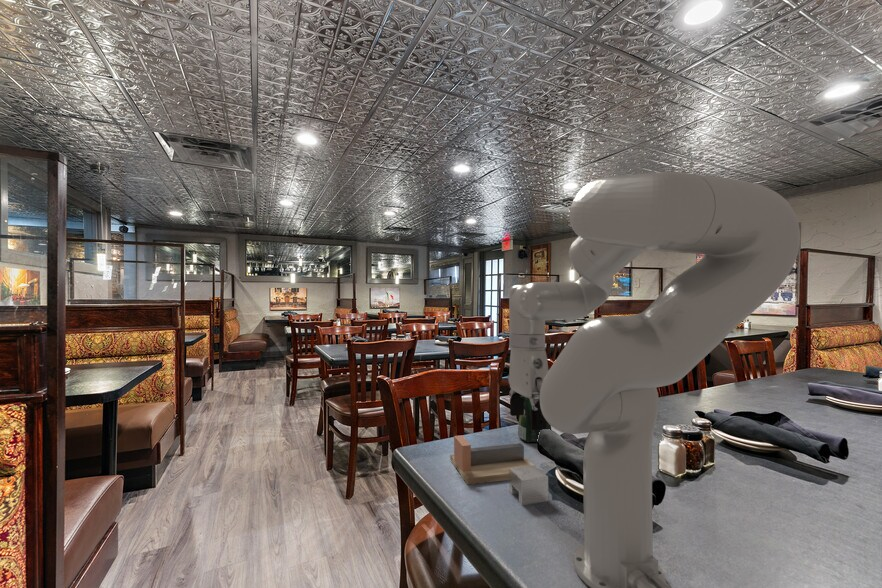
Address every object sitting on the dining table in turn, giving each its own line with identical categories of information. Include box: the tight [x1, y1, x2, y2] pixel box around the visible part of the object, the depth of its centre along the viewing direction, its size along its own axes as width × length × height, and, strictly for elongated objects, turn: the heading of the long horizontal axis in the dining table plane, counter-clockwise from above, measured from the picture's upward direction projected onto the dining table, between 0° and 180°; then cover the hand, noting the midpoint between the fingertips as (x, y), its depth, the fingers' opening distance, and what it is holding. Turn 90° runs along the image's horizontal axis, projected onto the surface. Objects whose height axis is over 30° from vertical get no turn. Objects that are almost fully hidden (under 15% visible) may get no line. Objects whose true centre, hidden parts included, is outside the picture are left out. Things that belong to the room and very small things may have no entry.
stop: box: [453, 435, 472, 472], centre depth 94 cm, size 7×2×6 cm, turn 14°
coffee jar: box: [517, 396, 552, 443], centre depth 117 cm, size 10×8×19 cm
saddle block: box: [508, 464, 549, 506], centre depth 82 cm, size 6×6×5 cm
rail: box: [471, 443, 525, 466], centre depth 96 cm, size 2×15×4 cm, turn 105°
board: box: [449, 454, 536, 486], centre depth 96 cm, size 14×18×2 cm
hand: (527, 421), depth 83 cm, fingers open, 9 cm apart
